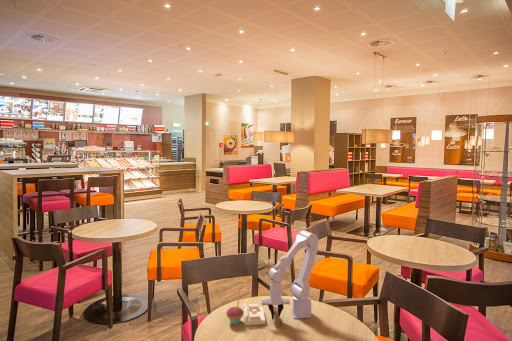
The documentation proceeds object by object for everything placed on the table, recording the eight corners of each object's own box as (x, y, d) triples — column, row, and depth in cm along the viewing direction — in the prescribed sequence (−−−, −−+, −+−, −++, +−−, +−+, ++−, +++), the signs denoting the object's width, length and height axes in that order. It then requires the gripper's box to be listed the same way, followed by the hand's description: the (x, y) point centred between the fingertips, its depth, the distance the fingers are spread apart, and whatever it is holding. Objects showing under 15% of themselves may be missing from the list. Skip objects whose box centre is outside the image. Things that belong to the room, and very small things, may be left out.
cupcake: (244, 317, 161) (244, 295, 160) (242, 327, 153) (242, 303, 152) (228, 316, 162) (228, 294, 161) (224, 326, 154) (224, 302, 153)
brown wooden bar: (276, 315, 164) (276, 306, 163) (279, 327, 153) (279, 317, 153) (271, 315, 164) (271, 306, 163) (274, 327, 153) (274, 317, 152)
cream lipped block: (262, 310, 168) (262, 302, 168) (265, 324, 155) (265, 314, 155) (243, 311, 167) (243, 302, 167) (245, 325, 154) (245, 315, 154)
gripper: (288, 288, 162) (288, 313, 163) (260, 289, 161) (260, 314, 162) (291, 294, 155) (290, 320, 156) (262, 295, 154) (261, 322, 155)
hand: (275, 318), depth 158 cm, fingers closed on brown wooden bar, 2 cm apart
